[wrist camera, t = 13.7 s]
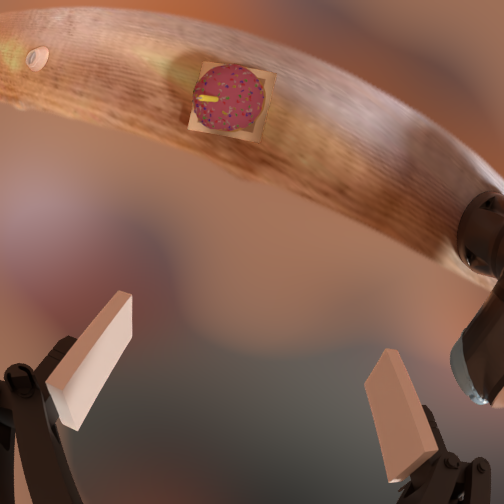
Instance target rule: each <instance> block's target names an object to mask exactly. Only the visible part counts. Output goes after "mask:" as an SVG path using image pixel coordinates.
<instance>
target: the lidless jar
mask: <svg viewBox="0 0 504 504" xmlns="http://www.w3.org/2000/svg"><path fill="white" fill-rule="evenodd" d="M48 56H49V51H48V49H47V48H46V47H45V46H41V47H38V48H36V49H34V50H31V51H30V52H29V53H28V55H27V57H26V64H27V65H28V67H29V68H30V69H31V70H32V71H34V72H35V71H39V70H41V69H42V68H43V67H44V66H45V64H46V62H47V60H48Z"/></svg>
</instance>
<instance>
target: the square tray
mask: <svg viewBox="0 0 504 504" xmlns="http://www.w3.org/2000/svg"><path fill="white" fill-rule="evenodd" d="M222 65H223V64H222V63H215V62H207V61H203V63H202V67H201V71H200V75H199V79H198V81H199V80H200V79H201V78H202V77H203V76H204V75H205V74H206V73H207V72H208V71H209V70H210V69H212V68H213V67H217V66H222ZM226 65H228V64H226ZM246 68H247V67H246ZM247 69H249V70H250V71H251V72H252V73H253V74H255V75H256V76H257V77H258V78H259V79H260V81H261V82H262V84H263V86H264V89H265V92H266V100H265V106H264V110H263V111H262V113H261V114H260V116H259V117H258V118H257V120H256V121H255V122H254V123H253V124H252V125H250V126H248V127H246V128H244V129H242V130H240V131H237V132H223V131H218V130H215V129H209V128H207V127H205V126H204V125H203V124H201V122H200V121H199V119H198V118H197V116H196V113H194V112H195V111H194V106H193V105H192V110H191V115H190V119H189V124H188V129H187V130H193V131H199V132H205V133H211V134H216V135H222V136H227V137H232V138H237V139H242V140H246V141H251V142H256V143H261V139H262V135H263V131H264V126H265V122H266V118H267V114H268V110H269V105H270V101H271V97H272V93H273V89H274V85H275V81H276V76H277V73H273V72H268V71H263V70H258V69H253V68H247Z"/></svg>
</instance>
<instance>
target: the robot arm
mask: <svg viewBox="0 0 504 504" xmlns="http://www.w3.org/2000/svg"><path fill="white" fill-rule="evenodd" d="M457 246H458V252H459V255H460V258H461V260H462V261H463V263H464V264H465V265H466V266H467V267H469V268H470V269H471V270H472V271H474V272H475V273H478V274H481V275H485V276H489V277H493V278H496V279H498V282H497V283H496V285H495V287H494V288H493V290H492V291H491V293H490V295H489V296H488V298H487V299H486V301H485V302H484V304H483V305H482V307H481V308H480V310H479V311H478V313H477V314H476V315H475V317H474V318H473V319H472V321H471V322H470V324H469V325H468V326H467V328H465V329H464V330H463V332H462V334H461V337H460V338H459V339H458V341H457V342H456V343H455V345H454V346H453V348H452V350H451V354H450V365H451V369H452V372H453V374H454V377H455V379H456V381H457V383H458V385H459V386H460V388H461V389H462V391H463V392H464V393H465V394H466V395H469V397H470V399H471V400H472V401H473V402H475V403H476V404H479V405H483V404H485V403H488V402H489V403H490V405H491V406H492V407H493V408H504V195H502V194H499V193H497V192H492V191H490V192H485V193H482V194H480V195H479V196H477V197H476V198H475V199H474V200H473V201H472V202H471V203H470V204H469V205H468V207H467V208H466V210H465V212H464V214H463V216H462V218H461V221H460V224H459V229H458V235H457ZM131 338H132V294H128V293H125V292H122V291H118V292H117V293H116V294H115V295H114V296H113V297H112V299H111V300H110V301H109V302H108V303H107V305H106V306H105V307H104V308H103V309H102V310H101V312H100V313H99V314H98V315H97V316H96V318H95V319H94V320H93V321H92V322H91V324H90V325H89V326H88V327H87V329H86V330H85V331H84V332H83V333H82V335H81V336H80V337H79V338H78V339H76V338H73V337H70V336H67V337H65V338H63V339H61V340H59V341H58V343H57V344H56V345H55V346H54V347H53V350H51V351H50V352H49V353H48V356H46V357H45V358H44V359H43V361H42V362H41V363H40V364H39V366H38V367H37V368H36V369H35V371H33V369H32V368H31V367H30V366H28V365H26V364H21V363H17V364H14V365H11V366H10V367H9V368H7V370H6V371H5V374H4V380H5V381H1V380H0V504H15V500H14V445H15V432H16V438H17V443H18V448H19V453H20V458H21V462H22V467H23V471H24V475H25V478H26V482H27V485H28V489H29V492H30V496H31V499H32V502H33V504H83V502H82V500H81V497H80V495H79V492H78V490H77V487H76V485H75V482H74V480H73V477H72V474H71V471H70V469H69V466H68V463H67V460H66V457H65V453H64V450H63V447H62V444H61V441H60V437H59V433H58V430H57V426H56V424H55V422H56V420H57V419H58V417H60V420H61V422H62V424H64V425H66V426H68V427H70V428H72V429H74V430H76V431H78V430H79V428H80V426H81V424H82V422H83V420H84V419H85V417H86V415H87V413H88V411H89V410H90V408H91V406H92V404H93V402H94V400H95V399H96V397H97V395H98V393H99V392H100V390H101V388H102V386H103V385H104V383H105V381H106V380H107V378H108V376H109V375H110V373H111V371H112V369H113V368H114V366H115V364H116V363H117V361H118V359H119V358H120V356H121V354H122V353H123V351H124V349H125V348H126V346H127V344H128V343H129V341H130V340H131ZM364 386H365V389H366V393H367V396H368V400H369V404H370V407H371V411H372V415H373V419H374V422H375V426H376V430H377V434H378V438H379V442H380V447H381V451H382V455H383V459H384V463H385V468H386V473H387V477H388V482H389V483H391V482H399V481H403V480H404V479H405V478H407V477H408V476H409V475H410V477H411V481H409V482H408V483H407V484H406V485H404V486H403V487H401V488H400V489H399V490H398V492H400V491H402V490H403V489H404V491H403V493H402V494H401V496H400V498H399V500H398V501H397V503H396V504H490V494H491V468H490V465H489V463H488V461H487V460H486V459H484V458H482V457H478V458H476V459H474V460H473V461H472V462H471V463H467V462H461V461H460V460H459V458H458V457H457V456H456V455H455V454H454V453H451V452H448V451H447V449H446V447H445V444H444V441H443V439H442V436H441V434H440V431H439V429H438V426H437V424H436V422H435V419H434V416H433V414H432V412H431V411H430V409H429V408H428V407H427V406H426V405H421V403H420V401H419V398H418V396H417V393H416V391H415V389H414V386H413V384H412V382H411V379H410V377H409V375H408V372H407V370H406V368H405V366H404V364H403V362H402V359H401V357H400V355H399V353H398V351H397V350H394V349H385V350H384V352H383V354H382V356H381V357H380V359H379V361H378V362H377V364H376V366H375V367H374V369H373V371H372V372H371V374H370V375H369V377H368V379H367V380H366V382H365V384H364ZM463 495H464V500H462V496H463Z"/></svg>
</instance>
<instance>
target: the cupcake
mask: <svg viewBox="0 0 504 504" xmlns="http://www.w3.org/2000/svg"><path fill="white" fill-rule="evenodd" d="M265 100H266V92H265V89H264V86H263V84H262V82H261V81H260V79H259V78H258V77H257V76H256V75H255V74H253V73H252V72H251V71H250V70H249V69H247V68H246V67H244V66H241V65H238V64H228V65H226V64H223V65H222V66H217V67H213V68H212V69H210V70H209V71H208V72H207V73H206V74H205V75H204V76H203V77H202V78H201V79H200V80H199V81H198V82H197V84H196V86H195V89H194V91H193V100H192V102H193V106H194V111H195V112H194V113H196V116H197V118H198V119H199V121H200V122H201V124H203V125H204V126H205V127H207V128H209V129H215V130H218V131H223V132H237V131H240V130H242V129H244V128H246V127H248V126H250V125H252V124H253V123H254V122H255V121H256V120H257V118H258V117H259V116H260V114H261V113H262V111H263V110H264V106H265Z"/></svg>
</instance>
